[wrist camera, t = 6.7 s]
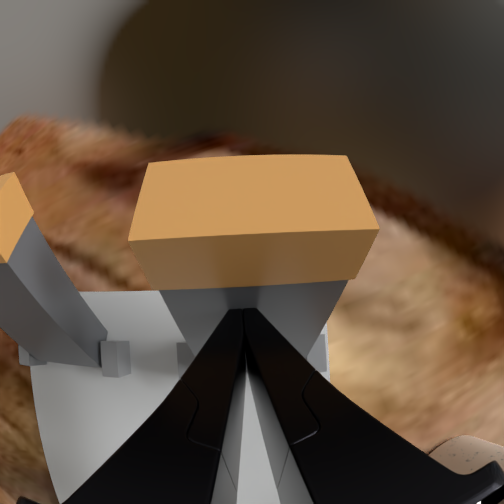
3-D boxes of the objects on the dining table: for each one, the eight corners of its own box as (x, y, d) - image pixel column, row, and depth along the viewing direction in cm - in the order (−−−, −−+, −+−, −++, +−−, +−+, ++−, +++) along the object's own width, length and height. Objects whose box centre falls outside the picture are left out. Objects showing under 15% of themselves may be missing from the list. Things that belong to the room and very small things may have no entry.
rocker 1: (103, 369, 14) (-22, 220, 6) (36, 361, 14) (-81, 234, 6) (109, 330, 16) (14, 171, 8) (45, 326, 16) (-52, 193, 8)
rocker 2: (302, 369, 15) (379, 228, 6) (203, 375, 15) (127, 241, 6) (296, 325, 16) (346, 155, 8) (202, 330, 16) (148, 163, 7)
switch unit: (321, 550, 14) (331, 575, 10) (83, 536, 13) (67, 554, 9) (316, 285, 19) (332, 276, 16) (40, 294, 18) (12, 287, 15)
